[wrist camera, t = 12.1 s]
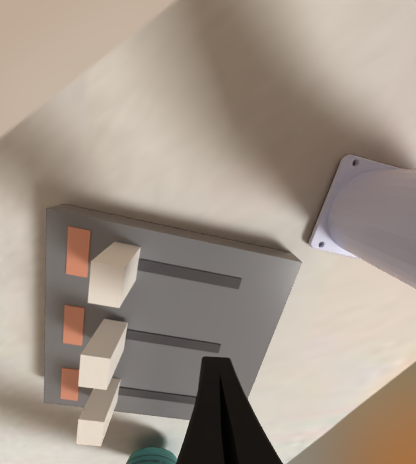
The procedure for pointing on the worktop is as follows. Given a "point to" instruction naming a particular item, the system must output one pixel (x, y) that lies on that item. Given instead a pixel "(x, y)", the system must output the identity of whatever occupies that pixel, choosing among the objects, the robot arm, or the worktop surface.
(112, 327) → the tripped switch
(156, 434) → the worktop surface
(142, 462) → the beverage bottle
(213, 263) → the switch panel
